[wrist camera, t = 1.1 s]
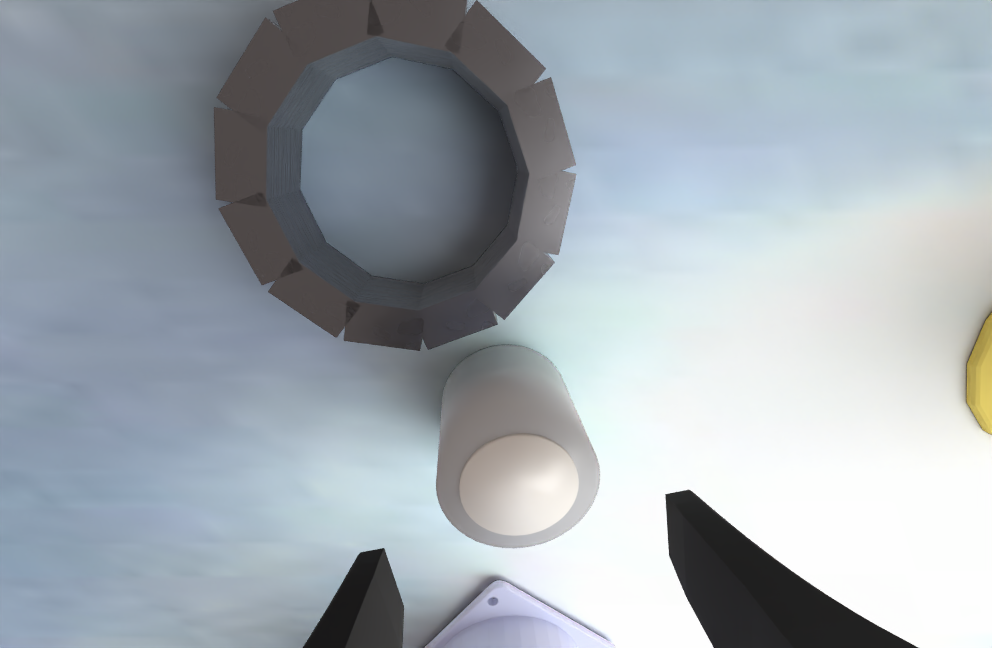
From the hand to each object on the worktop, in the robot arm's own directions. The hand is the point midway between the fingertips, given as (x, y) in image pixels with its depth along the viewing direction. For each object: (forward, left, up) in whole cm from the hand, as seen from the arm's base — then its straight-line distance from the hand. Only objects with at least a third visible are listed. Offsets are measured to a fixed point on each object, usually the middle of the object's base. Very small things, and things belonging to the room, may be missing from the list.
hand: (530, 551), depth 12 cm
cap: (0, 0, -8) cm, 8 cm away
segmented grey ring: (+4, +8, -8) cm, 12 cm away
